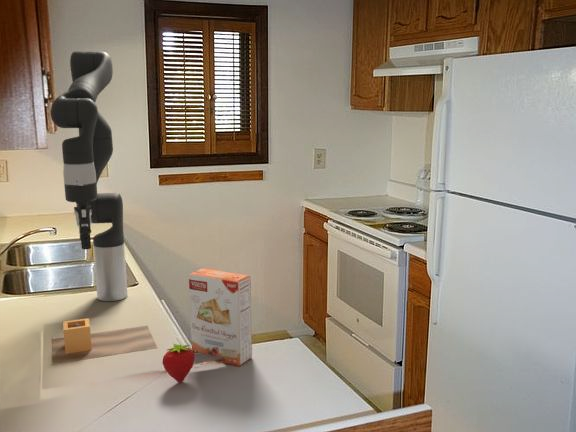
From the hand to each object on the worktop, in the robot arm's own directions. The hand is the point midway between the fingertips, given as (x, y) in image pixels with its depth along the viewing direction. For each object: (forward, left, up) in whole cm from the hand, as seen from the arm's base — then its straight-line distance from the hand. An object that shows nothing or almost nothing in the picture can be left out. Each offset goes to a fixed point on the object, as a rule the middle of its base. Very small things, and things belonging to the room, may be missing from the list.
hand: (85, 244), depth 150 cm
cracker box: (+23, +28, -26) cm, 45 cm away
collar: (+7, -4, -24) cm, 25 cm away
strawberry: (+32, +16, -26) cm, 44 cm away
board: (+7, +2, -26) cm, 27 cm away
